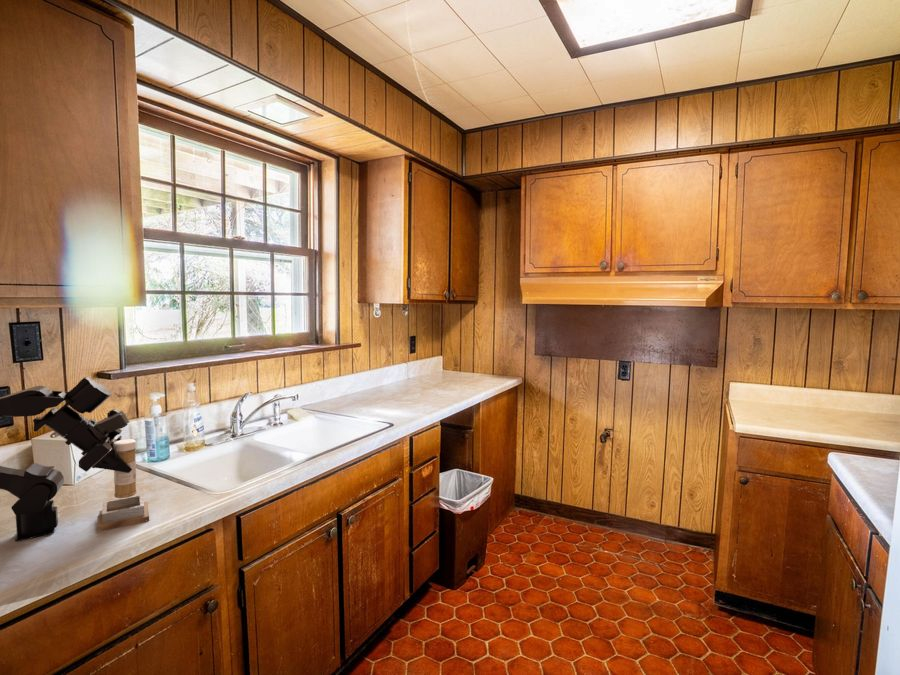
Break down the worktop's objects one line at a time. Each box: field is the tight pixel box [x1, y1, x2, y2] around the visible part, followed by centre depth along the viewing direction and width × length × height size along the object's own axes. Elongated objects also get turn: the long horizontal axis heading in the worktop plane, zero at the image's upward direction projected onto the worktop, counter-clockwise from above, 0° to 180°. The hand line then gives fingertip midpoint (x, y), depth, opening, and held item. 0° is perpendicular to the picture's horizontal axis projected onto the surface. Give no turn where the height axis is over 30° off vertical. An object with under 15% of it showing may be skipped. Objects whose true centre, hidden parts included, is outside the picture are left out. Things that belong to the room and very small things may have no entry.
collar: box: [102, 493, 145, 524], centre depth 116 cm, size 8×8×2 cm
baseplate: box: [97, 501, 150, 532], centre depth 116 cm, size 10×10×1 cm
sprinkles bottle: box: [113, 438, 137, 499], centre depth 115 cm, size 5×5×14 cm
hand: (131, 468), depth 116 cm, fingers closed on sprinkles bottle, 4 cm apart
